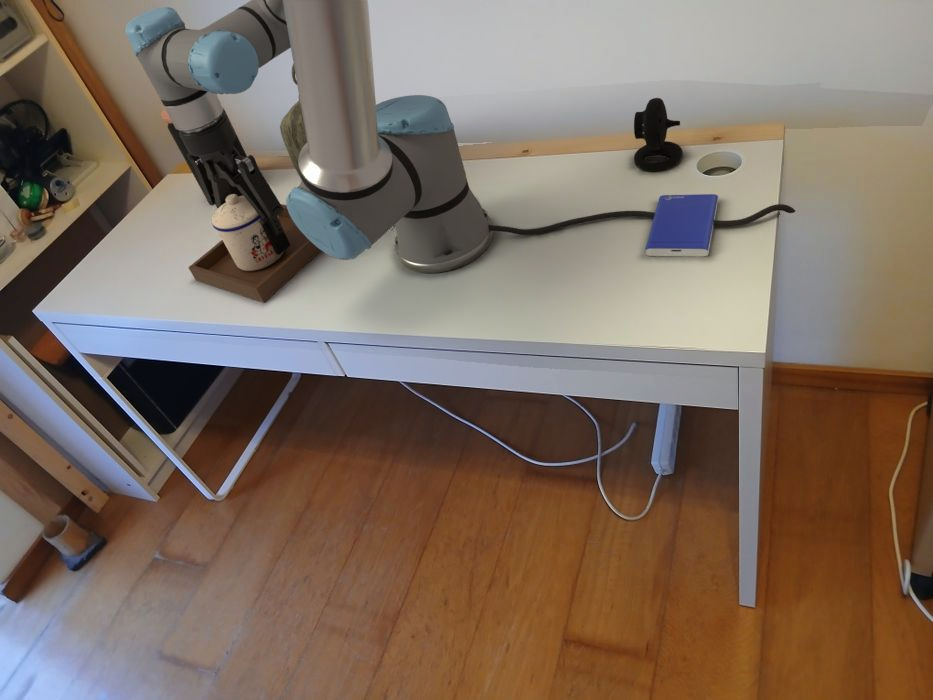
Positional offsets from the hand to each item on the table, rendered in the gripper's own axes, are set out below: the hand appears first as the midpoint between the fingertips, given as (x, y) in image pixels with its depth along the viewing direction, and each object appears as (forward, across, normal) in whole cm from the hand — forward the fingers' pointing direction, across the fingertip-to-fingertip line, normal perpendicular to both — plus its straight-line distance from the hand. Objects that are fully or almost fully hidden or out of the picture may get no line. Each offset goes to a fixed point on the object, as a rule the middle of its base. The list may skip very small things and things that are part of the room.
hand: (264, 244), depth 127 cm
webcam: (+2, -51, -41) cm, 66 cm away
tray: (+2, 0, 0) cm, 2 cm away
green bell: (+3, -1, -20) cm, 20 cm away
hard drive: (+2, -62, -25) cm, 67 cm away
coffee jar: (+3, +26, -14) cm, 30 cm away
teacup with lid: (+2, 0, 0) cm, 2 cm away
